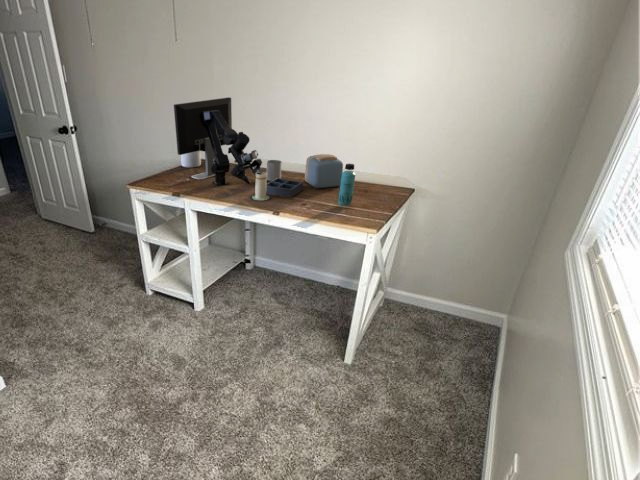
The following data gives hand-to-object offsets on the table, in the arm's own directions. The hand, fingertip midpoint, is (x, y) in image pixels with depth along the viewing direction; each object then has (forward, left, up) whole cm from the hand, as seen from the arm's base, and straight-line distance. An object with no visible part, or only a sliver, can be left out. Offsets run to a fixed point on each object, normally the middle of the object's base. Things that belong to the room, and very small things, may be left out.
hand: (255, 181), depth 210 cm
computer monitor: (-49, -4, -8) cm, 50 cm away
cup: (-21, +24, -8) cm, 33 cm away
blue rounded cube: (0, +43, -8) cm, 44 cm away
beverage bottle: (+34, +30, -8) cm, 46 cm away
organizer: (0, +17, -8) cm, 18 cm away
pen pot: (+3, +1, -7) cm, 8 cm away
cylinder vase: (-74, -5, -8) cm, 74 cm away
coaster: (+3, +1, -8) cm, 9 cm away
